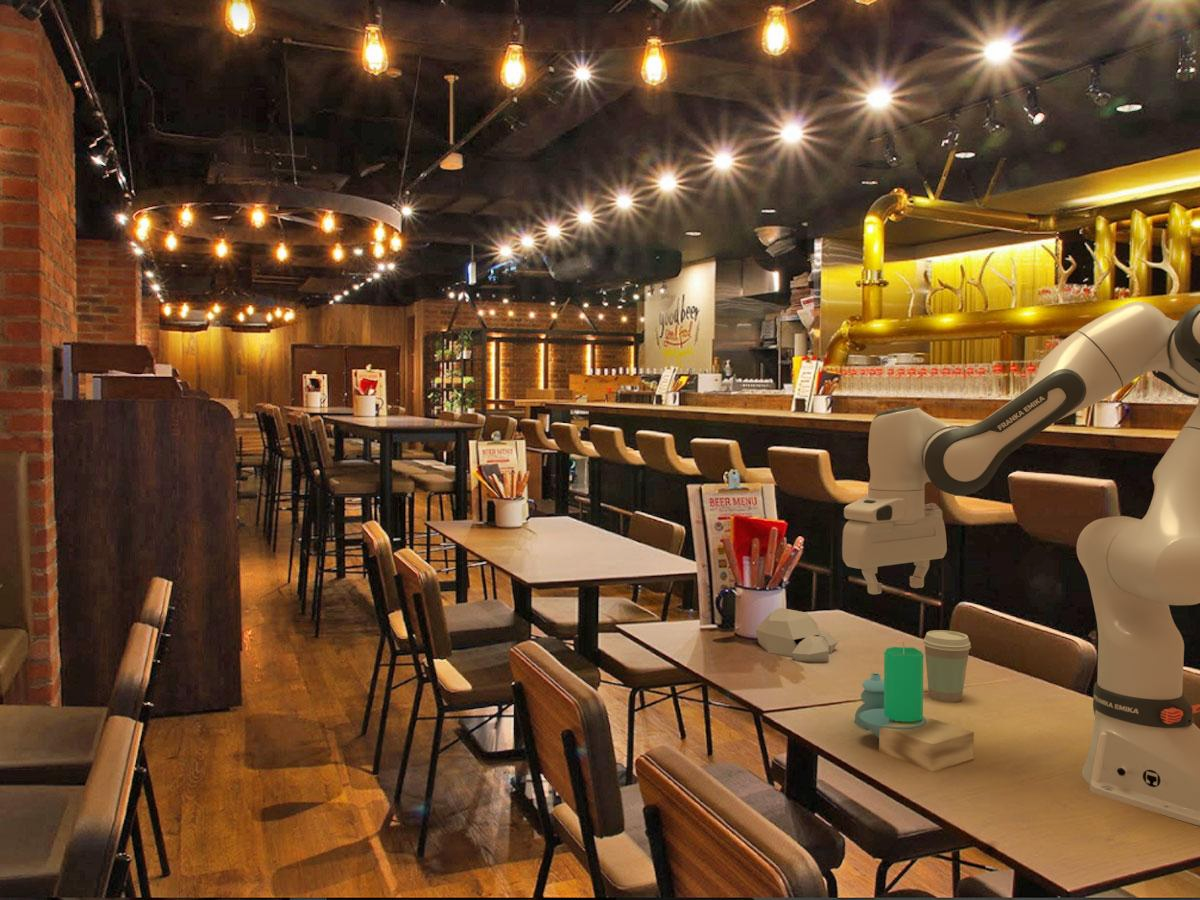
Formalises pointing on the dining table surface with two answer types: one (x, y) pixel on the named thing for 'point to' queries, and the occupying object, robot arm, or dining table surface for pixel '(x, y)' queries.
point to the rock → (795, 636)
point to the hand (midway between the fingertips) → (896, 590)
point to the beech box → (927, 743)
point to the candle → (903, 684)
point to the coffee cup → (946, 664)
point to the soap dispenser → (875, 707)
